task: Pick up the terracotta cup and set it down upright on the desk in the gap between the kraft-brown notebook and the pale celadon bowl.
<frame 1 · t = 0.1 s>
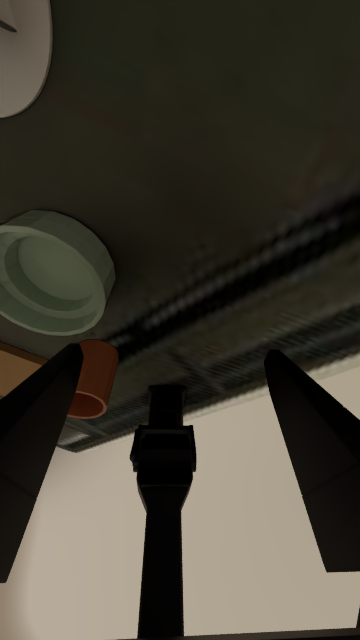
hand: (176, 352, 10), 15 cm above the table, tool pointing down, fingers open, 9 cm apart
cup: (97, 354, 32), on the table
notebook: (10, 369, 34), on the table
bowl: (63, 265, 23), on the table
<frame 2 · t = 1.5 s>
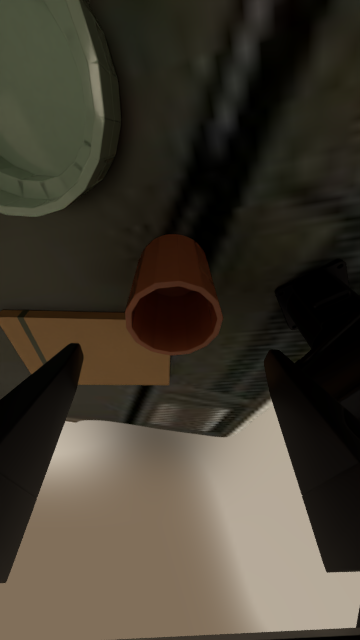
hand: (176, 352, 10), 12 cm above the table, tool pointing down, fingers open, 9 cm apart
cup: (173, 268, 21), on the table
notebook: (98, 349, 28), on the table
bowl: (28, 95, 13), on the table
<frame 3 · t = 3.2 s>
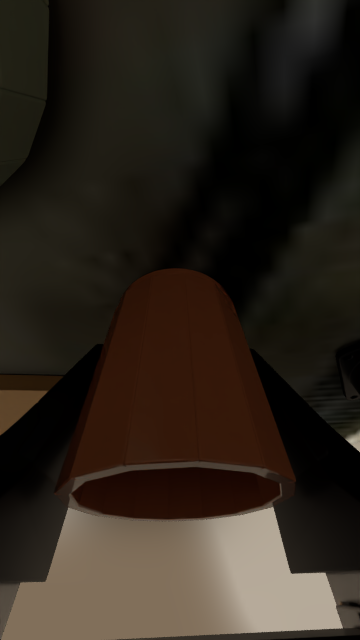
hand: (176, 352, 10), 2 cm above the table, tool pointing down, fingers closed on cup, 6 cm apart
cup: (175, 319, 12), on the table, touching gripper
notebook: (65, 416, 19), on the table
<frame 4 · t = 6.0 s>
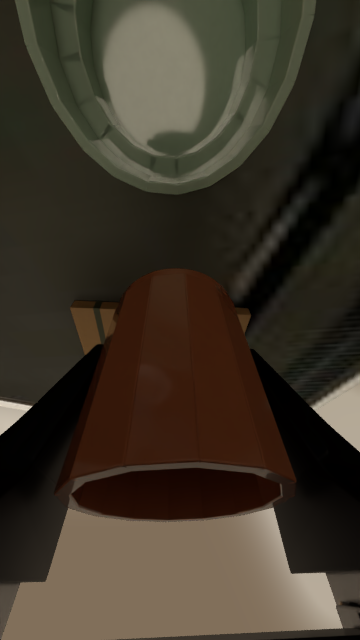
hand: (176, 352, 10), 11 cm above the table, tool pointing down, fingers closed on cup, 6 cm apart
cup: (175, 319, 12), point 9 cm above the table, touching gripper
notebook: (162, 344, 27), on the table
bowl: (169, 63, 12), on the table
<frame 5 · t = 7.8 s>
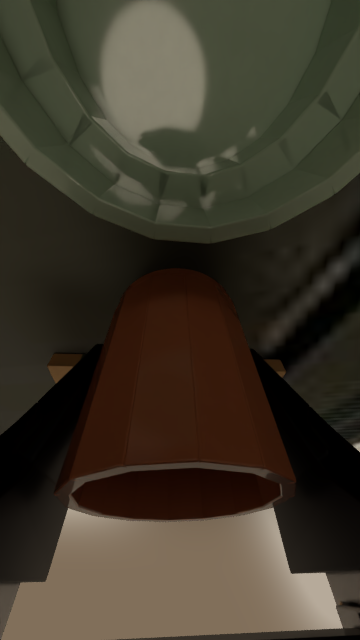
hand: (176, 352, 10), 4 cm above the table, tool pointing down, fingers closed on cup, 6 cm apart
cup: (175, 319, 12), point 2 cm above the table, touching gripper
notebook: (168, 396, 21), on the table
bowl: (193, 8, 7), on the table
when the fingers open (2 cm above the table, at t = 9.1 s): cup stays where it is, on the table.
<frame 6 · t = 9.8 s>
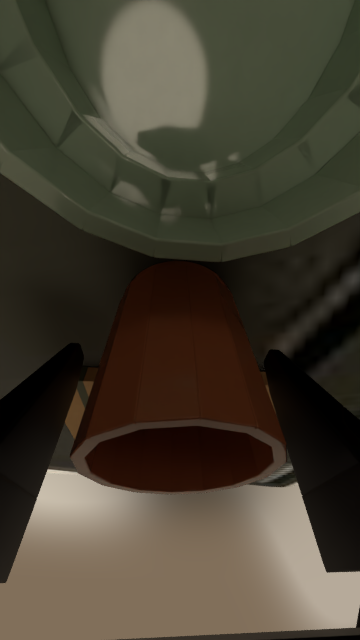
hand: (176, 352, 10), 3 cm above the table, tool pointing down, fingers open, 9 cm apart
cup: (177, 311, 13), on the table
notebook: (169, 409, 20), on the table
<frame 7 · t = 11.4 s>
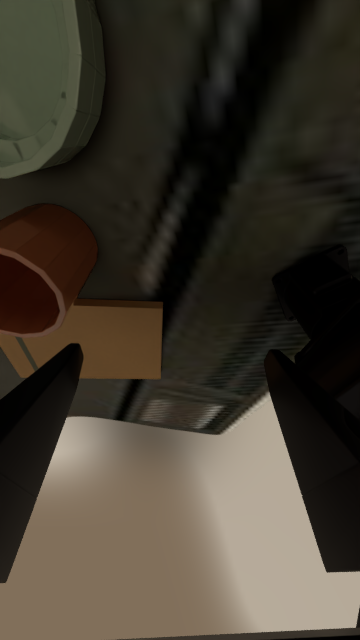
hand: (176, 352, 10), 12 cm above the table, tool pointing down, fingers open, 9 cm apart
cup: (59, 244, 19), on the table
notebook: (85, 339, 26), on the table
bowl: (0, 41, 12), on the table
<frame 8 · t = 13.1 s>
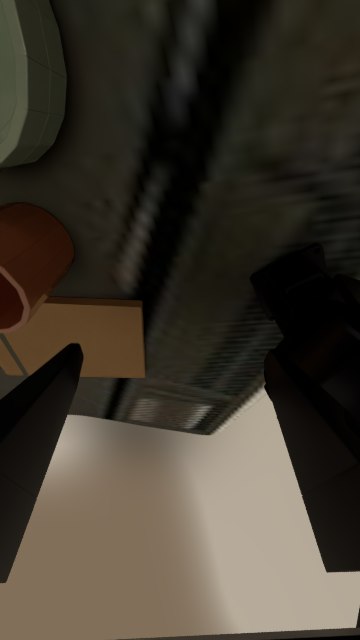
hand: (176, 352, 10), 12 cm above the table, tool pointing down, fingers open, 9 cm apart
cup: (35, 243, 19), on the table
notebook: (69, 337, 26), on the table
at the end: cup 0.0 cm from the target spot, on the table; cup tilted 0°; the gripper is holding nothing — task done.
